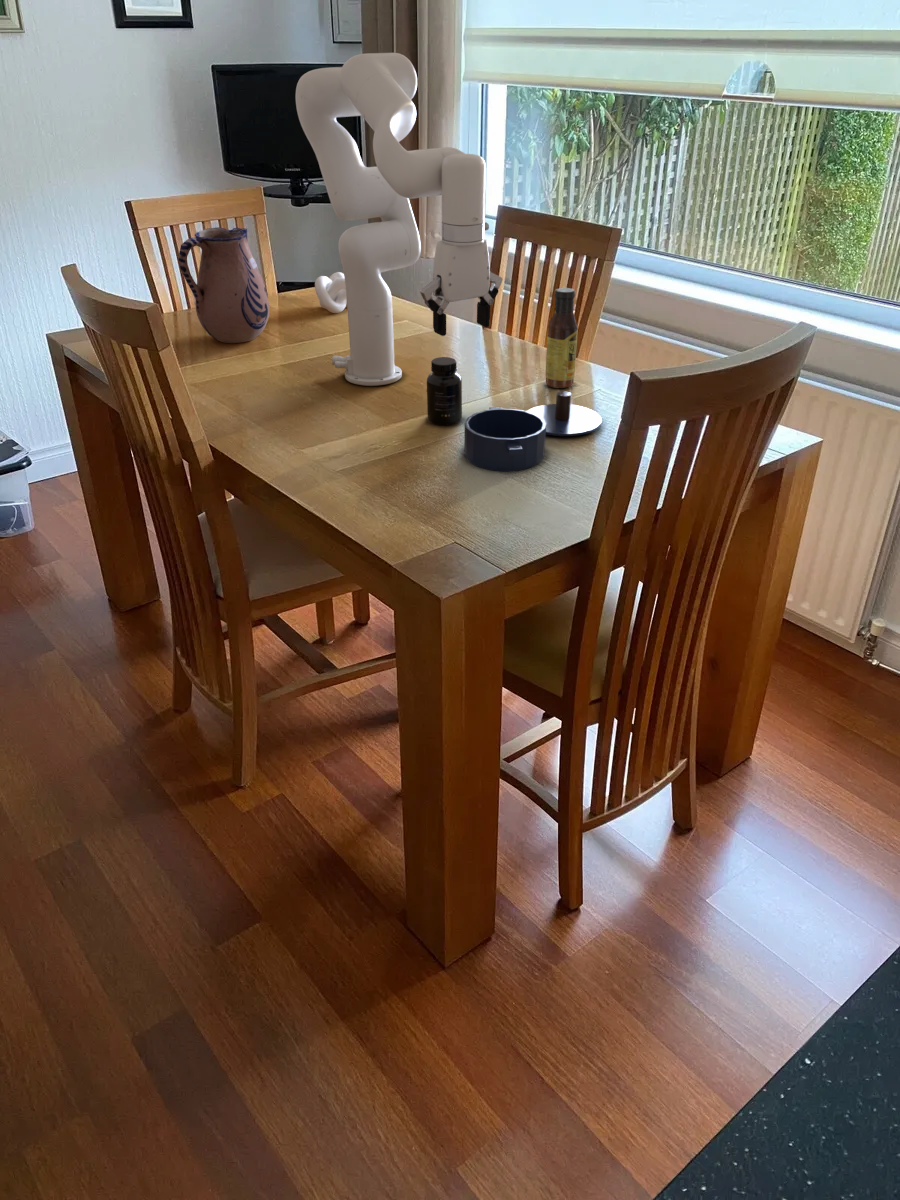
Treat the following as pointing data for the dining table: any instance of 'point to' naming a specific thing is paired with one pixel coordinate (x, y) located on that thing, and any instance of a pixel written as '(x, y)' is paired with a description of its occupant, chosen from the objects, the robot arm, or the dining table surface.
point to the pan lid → (567, 417)
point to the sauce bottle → (562, 341)
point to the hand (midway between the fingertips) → (461, 329)
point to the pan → (504, 439)
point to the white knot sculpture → (332, 292)
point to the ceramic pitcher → (227, 285)
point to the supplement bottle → (444, 392)
